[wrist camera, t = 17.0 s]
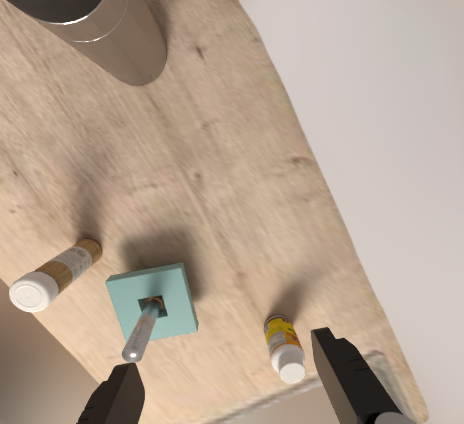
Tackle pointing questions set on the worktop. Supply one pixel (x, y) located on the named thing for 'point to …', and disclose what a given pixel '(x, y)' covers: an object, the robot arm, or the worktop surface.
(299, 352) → the supplement bottle
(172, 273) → the collar
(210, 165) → the worktop surface
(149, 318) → the grey peg
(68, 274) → the sprinkles bottle
